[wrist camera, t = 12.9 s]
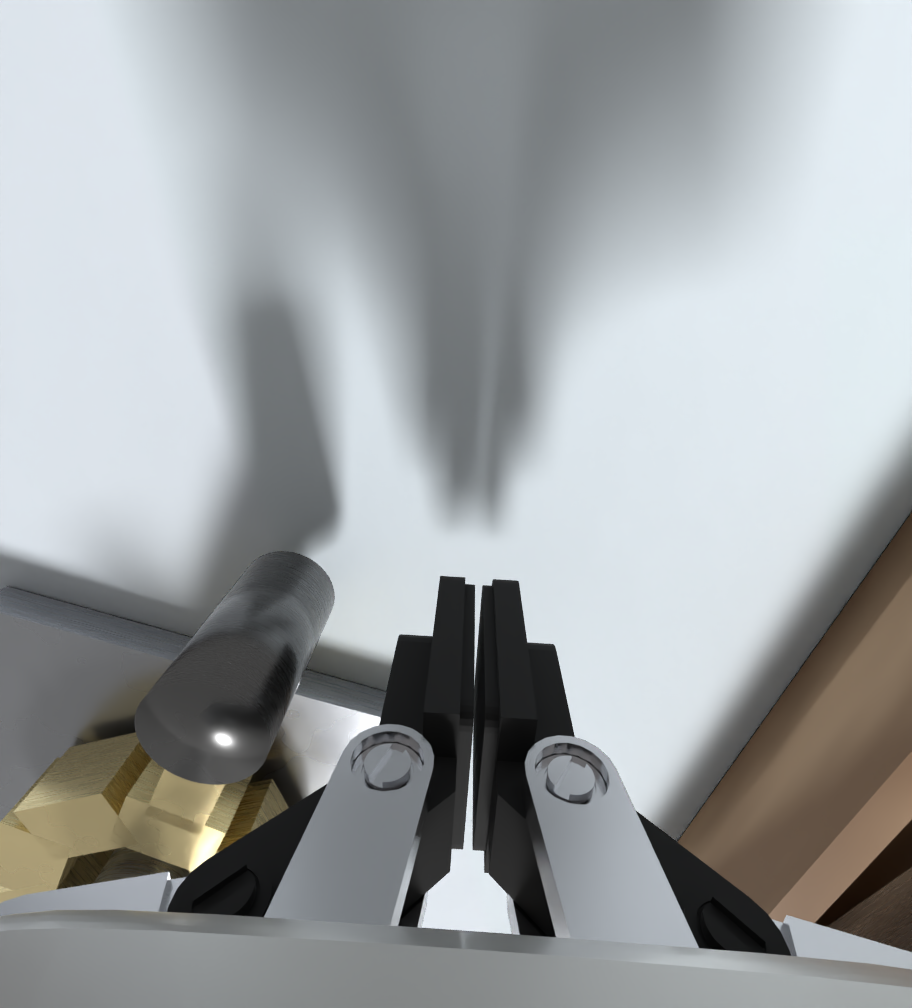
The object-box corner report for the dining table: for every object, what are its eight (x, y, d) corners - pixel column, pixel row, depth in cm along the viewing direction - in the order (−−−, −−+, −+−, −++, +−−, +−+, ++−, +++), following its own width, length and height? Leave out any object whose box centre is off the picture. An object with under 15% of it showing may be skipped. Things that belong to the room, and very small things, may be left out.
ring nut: (251, 940, 18) (185, 1130, 14) (23, 860, 17) (-119, 1042, 13) (451, 624, 13) (439, 779, 9) (146, 482, 12) (-24, 586, 8)
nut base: (427, 703, 16) (396, 961, 10) (335, 941, 20) (275, 1218, 14) (7, 586, 15) (-313, 794, 9) (7, 863, 19) (-205, 1126, 13)
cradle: (1340, 607, 14) (1609, 709, 10) (820, 1066, 22) (878, 1200, 19) (941, 470, 13) (1100, 535, 9) (560, 1006, 21) (575, 1135, 18)
